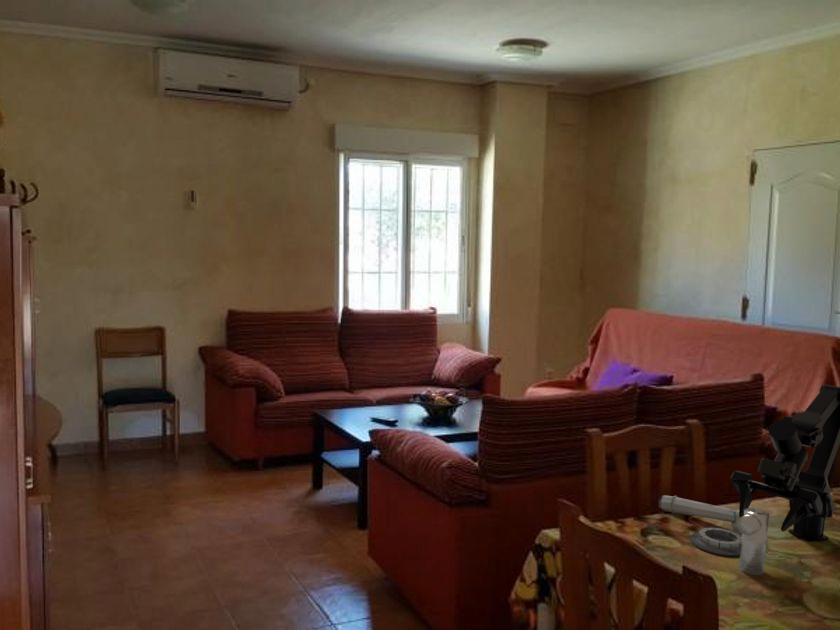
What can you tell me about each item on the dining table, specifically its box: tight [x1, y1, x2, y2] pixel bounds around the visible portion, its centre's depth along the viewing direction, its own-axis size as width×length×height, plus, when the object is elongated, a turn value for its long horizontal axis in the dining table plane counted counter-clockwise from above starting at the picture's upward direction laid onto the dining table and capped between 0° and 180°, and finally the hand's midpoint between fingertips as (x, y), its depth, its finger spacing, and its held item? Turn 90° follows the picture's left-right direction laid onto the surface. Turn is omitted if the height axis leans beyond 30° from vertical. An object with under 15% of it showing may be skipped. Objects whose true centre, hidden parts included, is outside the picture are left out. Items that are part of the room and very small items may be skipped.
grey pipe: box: [658, 494, 742, 537], centre depth 197 cm, size 5×7×25 cm
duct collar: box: [690, 527, 742, 558], centre depth 183 cm, size 13×13×2 cm
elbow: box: [737, 507, 770, 576], centre depth 169 cm, size 7×5×13 cm
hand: (760, 523), depth 171 cm, fingers open, 9 cm apart
